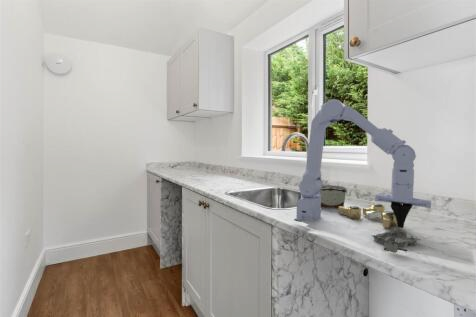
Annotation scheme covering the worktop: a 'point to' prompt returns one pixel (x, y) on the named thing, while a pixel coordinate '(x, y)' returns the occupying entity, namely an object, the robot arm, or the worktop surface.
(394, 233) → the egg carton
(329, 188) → the food container
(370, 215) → the tribrach plate
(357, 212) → the knob left
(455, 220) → the worktop surface
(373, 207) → the knob back
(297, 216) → the robot arm
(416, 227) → the worktop surface
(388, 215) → the knob right
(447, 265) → the worktop surface
